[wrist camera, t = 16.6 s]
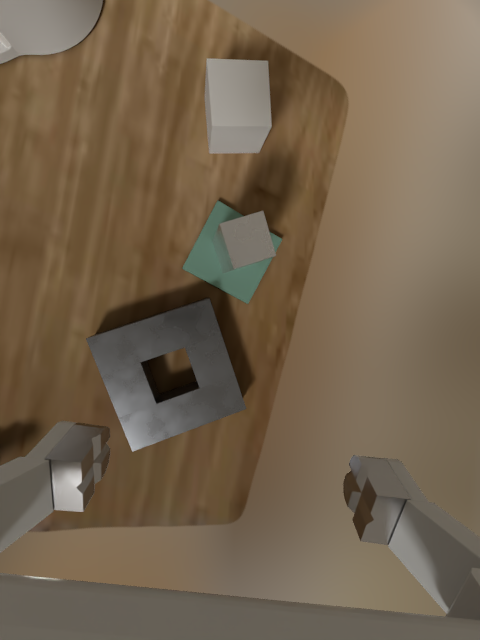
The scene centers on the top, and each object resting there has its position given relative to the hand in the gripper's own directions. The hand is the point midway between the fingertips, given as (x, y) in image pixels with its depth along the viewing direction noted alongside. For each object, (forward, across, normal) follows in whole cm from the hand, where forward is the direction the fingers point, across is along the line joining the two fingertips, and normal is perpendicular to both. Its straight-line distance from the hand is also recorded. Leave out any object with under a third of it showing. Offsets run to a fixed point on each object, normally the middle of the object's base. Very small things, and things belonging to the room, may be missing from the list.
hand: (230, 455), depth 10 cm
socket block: (+25, +7, +11) cm, 28 cm away
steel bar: (+28, +1, -4) cm, 28 cm away
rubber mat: (+29, +1, -4) cm, 29 cm away
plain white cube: (+32, +3, -18) cm, 37 cm away
